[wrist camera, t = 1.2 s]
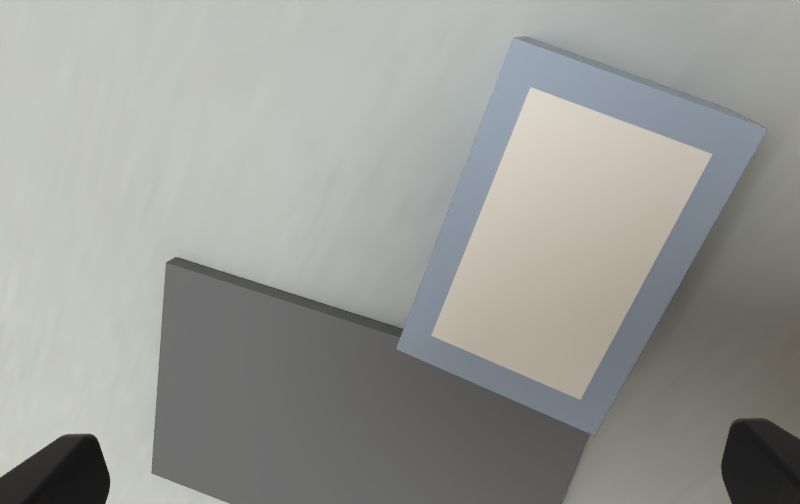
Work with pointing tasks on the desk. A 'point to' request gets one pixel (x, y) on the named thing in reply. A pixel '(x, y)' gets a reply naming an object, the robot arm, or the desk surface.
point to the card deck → (572, 230)
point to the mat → (332, 409)
